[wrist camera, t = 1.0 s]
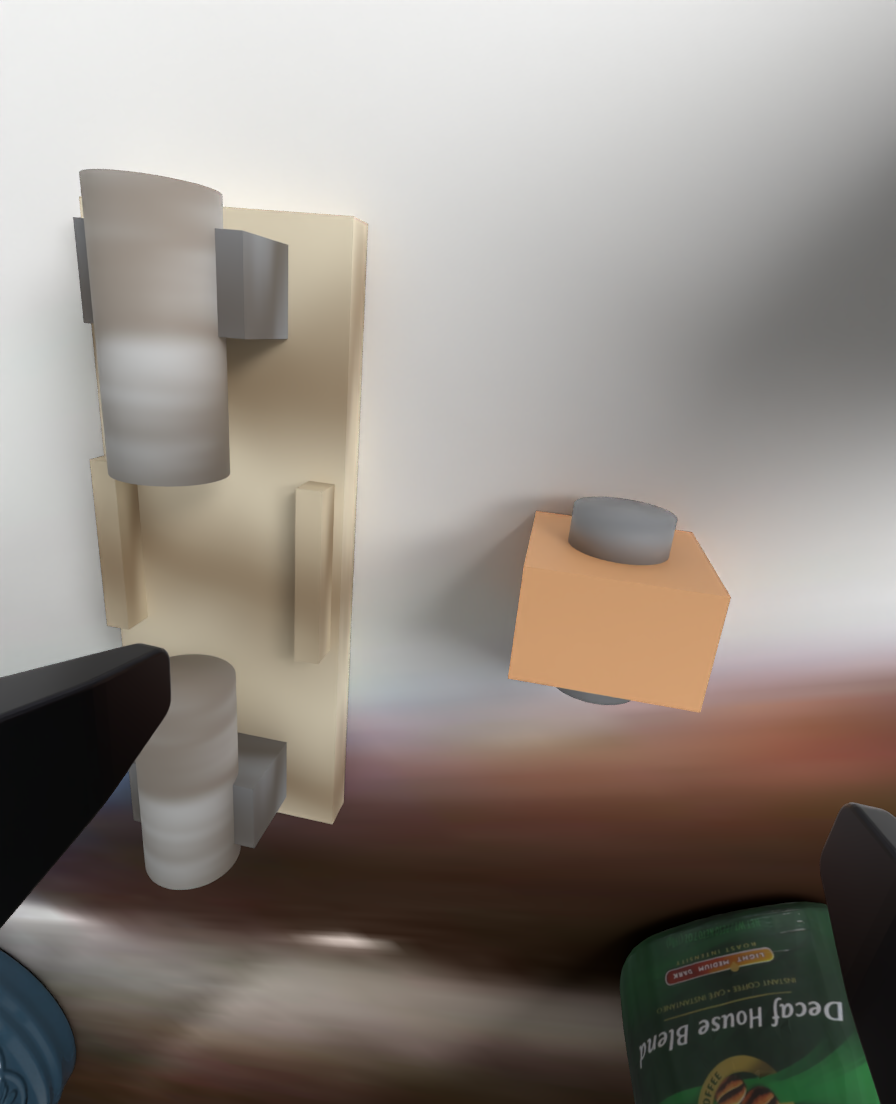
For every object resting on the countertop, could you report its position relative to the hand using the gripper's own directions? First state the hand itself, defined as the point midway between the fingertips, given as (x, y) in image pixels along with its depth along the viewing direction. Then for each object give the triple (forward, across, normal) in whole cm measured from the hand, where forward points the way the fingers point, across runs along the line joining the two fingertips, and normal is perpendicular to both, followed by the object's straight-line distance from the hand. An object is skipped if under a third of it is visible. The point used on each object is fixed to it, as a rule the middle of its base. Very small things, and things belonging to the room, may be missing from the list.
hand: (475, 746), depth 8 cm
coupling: (+12, -2, +1) cm, 12 cm away
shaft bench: (+12, +10, +3) cm, 15 cm away
